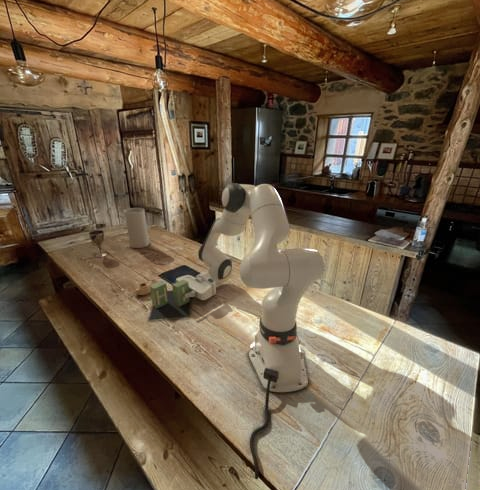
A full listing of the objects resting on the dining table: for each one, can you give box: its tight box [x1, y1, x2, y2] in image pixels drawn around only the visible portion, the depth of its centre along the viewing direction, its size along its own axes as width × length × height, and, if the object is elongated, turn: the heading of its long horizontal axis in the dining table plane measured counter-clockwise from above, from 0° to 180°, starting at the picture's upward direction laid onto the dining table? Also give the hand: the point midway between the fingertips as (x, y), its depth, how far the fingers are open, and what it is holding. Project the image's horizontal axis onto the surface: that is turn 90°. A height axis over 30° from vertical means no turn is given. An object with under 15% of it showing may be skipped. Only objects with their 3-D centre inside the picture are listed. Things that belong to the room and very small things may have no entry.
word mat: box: [149, 290, 191, 321], centre depth 120 cm, size 22×16×1 cm
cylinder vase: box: [123, 207, 150, 249], centre depth 180 cm, size 12×12×25 cm
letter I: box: [171, 280, 191, 306], centre depth 118 cm, size 4×6×10 cm, turn 137°
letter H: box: [150, 280, 169, 308], centre depth 117 cm, size 4×6×10 cm, turn 137°
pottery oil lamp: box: [132, 279, 158, 296], centre depth 128 cm, size 9×12×7 cm
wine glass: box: [88, 230, 108, 258], centre depth 167 cm, size 8×8×15 cm
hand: (179, 293), depth 117 cm, fingers open, 5 cm apart
